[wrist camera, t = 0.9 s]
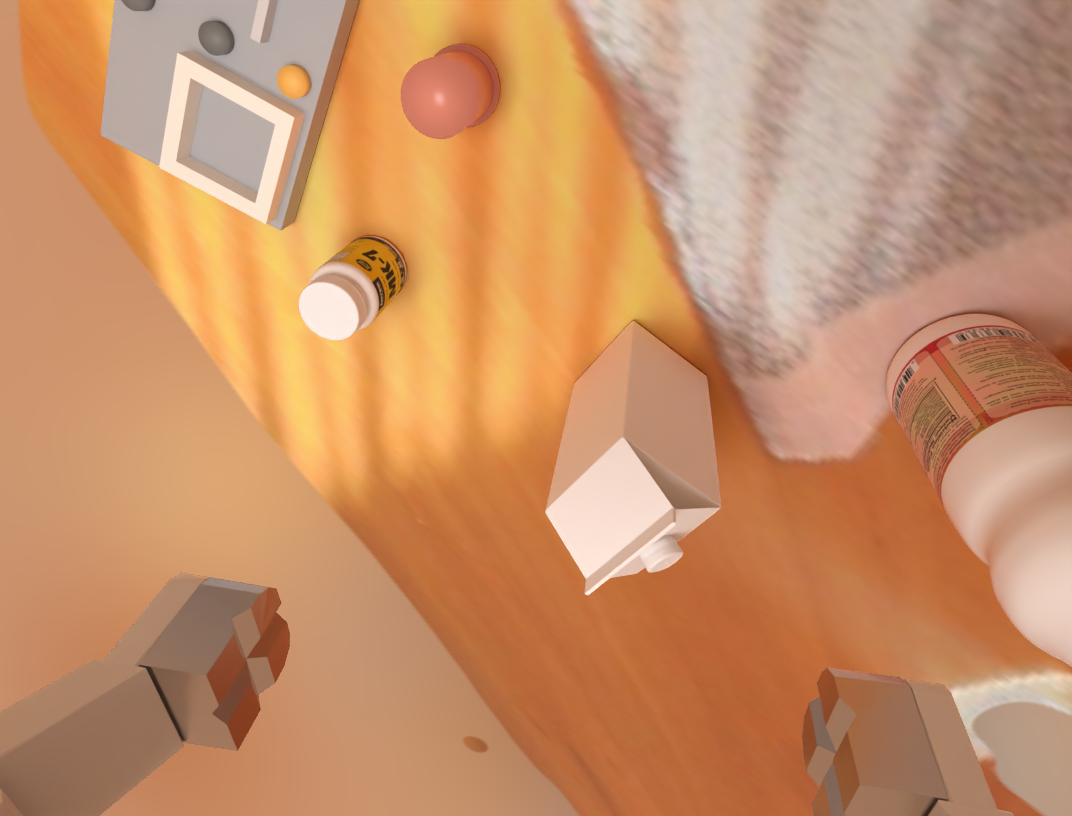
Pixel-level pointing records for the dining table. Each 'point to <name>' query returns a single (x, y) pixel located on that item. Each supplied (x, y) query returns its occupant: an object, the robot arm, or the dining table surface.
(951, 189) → the dining table surface
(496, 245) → the dining table surface
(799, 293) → the dining table surface
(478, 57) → the cap
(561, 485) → the milk carton
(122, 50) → the panel
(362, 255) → the supplement bottle
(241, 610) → the robot arm
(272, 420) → the dining table surface
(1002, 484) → the fruit juice
